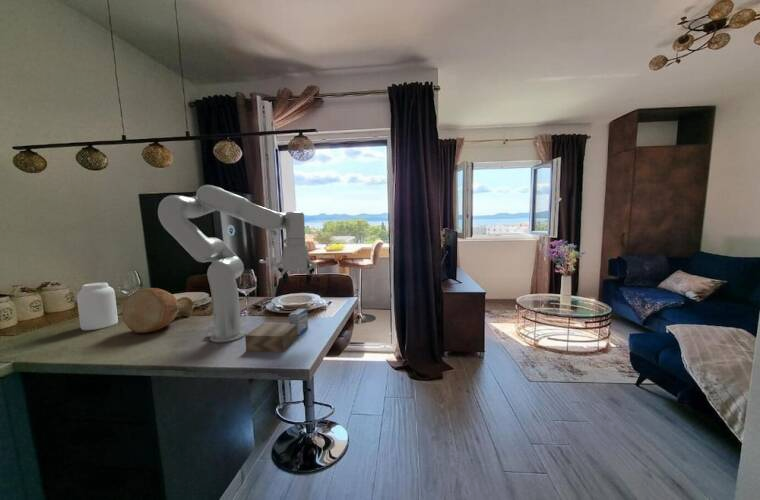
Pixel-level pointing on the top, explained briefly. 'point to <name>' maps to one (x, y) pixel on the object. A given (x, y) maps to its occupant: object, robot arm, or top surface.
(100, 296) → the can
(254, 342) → the walnut block
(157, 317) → the jug
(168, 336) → the top surface
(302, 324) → the medicine box
